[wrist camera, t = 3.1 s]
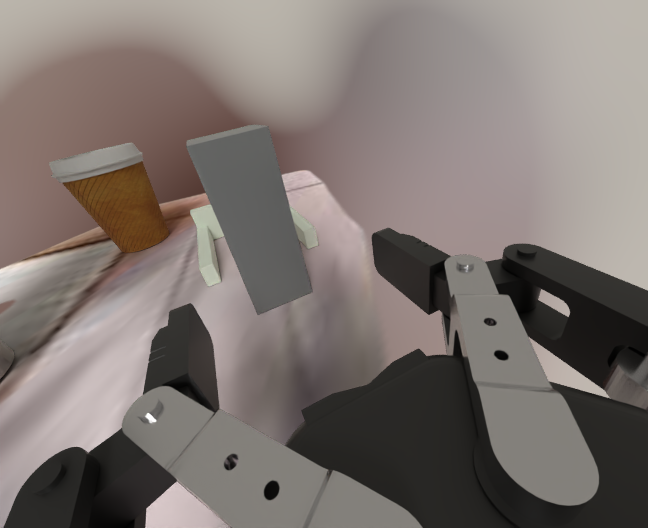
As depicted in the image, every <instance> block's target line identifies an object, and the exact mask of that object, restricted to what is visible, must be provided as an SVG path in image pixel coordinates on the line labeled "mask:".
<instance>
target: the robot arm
mask: <svg viewBox="0 0 648 528" xmlns="http://www.w3.org/2000/svg"><path fill="white" fill-rule="evenodd" d="M372 246H373V255H374V263H375V267H376V269H377V271H378V273H379V274H380V275H381V276H382V277H384V278H385V279H386V280H387V281H388V282H390V283H391V284H392V285H393V286H395V287H396V288H397V289H398V290H399V291H400V292H402V293H403V294H404V295H405V296H406V297H408V298H409V299H410V300H411V301H412V302H414V303H415V304H416V305H417V306H419V307H420V308H421V309H422V310H423V311H425V312H426V313H427V314H428V315H430V314H432V313H434V312H436V311H438V310H440V311H441V312H442V324H443V331H444V338H445V345H446V352H447V355H432V356H426V355H425V354H424V353H423V352H422V351H421V350H420V349H417V350H415V351H413V352H411V353H409V354H407V355H405V356H403V357H402V358H400V359H398V360H396V361H394V362H392V363H391V364H390V365H389V366H388V367H387V368H386V369H385V370H384V371H383V372H381V373H380V374H379V375H378V376H377V377H376V378H375V379H374V380H373V381H372V382H371V383H369V384H368V385H365V386H361V387H357V388H354V389H350V390H346V391H342V392H338V393H334V394H331V395H329V396H328V397H326V398H324V399H322V400H320V401H318V402H316V403H314V404H312V405H311V406H309V407H307V408H305V409H303V410H301V411H302V414H303V416H304V419H305V422H304V423H302V424H301V425H300V426H299V427H298V428H297V430H296V431H295V432H294V433H293V434H292V436H291V437H290V438H289V440H288V441H287V443H286V445H285V446H284V445H282V444H281V443H279V442H277V441H275V440H274V439H272V438H270V437H269V436H267V435H265V434H263V433H262V432H260V431H258V430H256V429H255V428H253V427H251V426H249V425H248V424H246V423H244V422H242V421H241V420H239V419H237V418H236V417H234V416H232V415H230V414H229V413H227V412H225V411H223V410H221V409H219V400H218V390H217V379H216V369H215V359H214V349H213V343H212V340H211V337H210V334H209V332H208V330H207V329H206V327H205V325H204V323H203V322H202V320H201V318H200V316H199V315H198V313H197V311H196V310H195V308H194V306H193V305H192V304H191V303H189V304H187V305H184V306H182V307H179V308H176V309H174V310H171V311H170V312H169V320H168V326H166V327H164V328H161V329H159V331H158V333H157V334H156V336H155V337H154V339H153V340H152V345H151V351H150V352H151V354H150V356H149V363H148V368H147V374H146V380H145V386H144V392H143V395H142V396H141V397H140V398H139V399H137V400H136V401H135V402H134V403H133V405H132V406H131V407H130V408H129V410H128V411H127V413H126V415H125V416H124V419H123V422H122V428H121V429H120V430H119V431H117V432H116V433H115V434H113V435H112V436H111V437H109V438H108V439H107V440H105V441H104V442H102V443H101V444H100V445H98V446H97V447H96V448H94V449H93V450H91V451H90V452H89V453H88V452H87V451H85V450H84V449H83V448H80V447H71V448H68V449H65V450H63V451H61V452H59V453H57V454H55V455H54V456H52V457H51V458H49V459H48V460H47V461H46V462H44V463H43V464H42V465H41V466H40V467H39V468H38V469H37V470H36V471H35V472H34V473H33V474H32V475H31V476H30V477H29V478H28V479H27V481H26V482H25V483H24V485H23V486H22V488H21V489H20V491H19V493H18V495H17V497H16V499H15V501H14V504H13V506H12V508H11V511H10V513H9V516H8V518H7V521H6V523H5V526H4V528H145V523H146V508H147V507H148V506H150V505H151V504H152V503H153V502H154V501H155V500H156V499H157V498H158V497H160V496H161V495H162V494H163V493H164V492H165V491H166V490H167V489H169V488H170V487H171V486H172V485H173V484H174V483H175V482H176V481H177V482H178V483H180V484H181V485H182V486H183V487H184V488H185V489H187V490H188V491H189V492H190V493H191V494H192V495H193V496H195V497H196V498H197V499H198V500H199V501H200V502H201V503H203V504H204V505H205V506H206V507H207V508H208V509H209V510H211V511H212V512H213V513H214V514H215V515H216V516H217V517H219V518H220V519H221V520H222V521H223V522H224V523H225V524H227V525H228V526H229V527H230V528H648V291H647V290H645V289H642V288H640V287H638V286H635V285H632V284H630V283H628V282H625V281H623V280H620V279H618V278H615V277H613V276H610V275H608V274H605V273H603V272H601V271H598V270H596V269H593V268H591V267H588V266H586V265H584V264H581V263H579V262H576V261H573V260H571V259H569V258H566V257H564V256H561V255H559V254H557V253H554V252H552V251H549V250H546V249H544V248H542V247H539V246H536V245H531V244H514V245H510V246H508V247H506V248H505V249H504V252H503V257H502V259H499V260H493V261H488V262H485V261H483V260H482V259H480V258H478V257H476V256H472V255H455V256H452V257H451V256H449V255H448V254H446V253H444V252H442V251H440V250H438V249H436V248H434V247H432V246H431V245H428V244H427V243H425V242H422V241H421V240H419V239H417V238H415V237H414V236H410V235H405V234H399V233H398V232H396V231H394V230H392V229H390V228H386V229H384V230H381V231H378V232H376V233H374V234H373V235H372ZM541 289H543V290H545V291H547V292H548V293H550V294H552V295H554V296H556V297H558V298H560V299H561V300H563V301H564V302H565V303H566V304H567V305H568V307H569V309H570V315H569V317H567V316H565V315H563V314H562V313H560V312H558V311H556V310H555V309H553V308H551V307H549V306H548V305H546V304H544V303H542V302H541V301H539V300H538V298H539V294H540V291H541ZM528 337H530V338H531V339H533V340H534V341H536V342H537V343H538V344H540V345H541V346H543V347H544V348H545V349H547V350H548V351H550V352H551V353H553V354H554V355H555V356H557V357H558V358H560V359H561V360H562V361H564V362H566V363H567V364H568V365H569V366H571V367H572V368H574V369H575V370H577V371H578V372H579V373H581V374H582V375H584V376H585V377H586V378H588V379H590V380H591V381H592V382H594V383H595V384H596V385H598V386H600V387H601V388H602V389H603V390H605V391H606V393H607V394H608V396H609V397H610V398H611V399H610V398H606V397H603V396H599V395H596V394H592V393H588V392H585V391H581V390H578V389H574V388H571V387H567V386H564V385H560V384H556V383H553V382H549V381H548V379H547V377H546V375H545V373H544V370H543V368H542V366H541V364H540V362H539V359H538V357H537V355H536V353H535V351H534V349H533V347H532V344H531V342H530V340H529V338H528ZM14 357H15V356H14V351H13V350H12V349H11V348H10V347H8V346H7V345H6V344H5V343H4V342H3V341H1V340H0V379H1V377H2V376H3V375H4V374H5V373H6V372H7V370H8V369H9V367H10V366H11V364H12V362H13V359H14Z"/></svg>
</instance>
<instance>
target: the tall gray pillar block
mask: <svg viewBox="0 0 648 528" xmlns="http://www.w3.org/2000/svg"><path fill="white" fill-rule="evenodd" d="M186 147H187V149H188V152H189V154H190V156H191V159H192V161H193V163H194V166H195V168H196V170H197V173H198V175H199V178H200V180H201V182H202V185H203V187H204V189H205V192H206V194H207V196H208V199H209V201H210V204H211V206H212V208H213V211H214V213H215V215H216V218H217V220H218V222H219V225H220V227H221V229H222V232H223V234H224V236H225V239H226V241H227V244H228V246H229V248H230V251H231V253H232V255H233V258H234V260H235V262H236V265H237V267H238V269H239V272H240V274H241V277H242V279H243V281H244V284H245V286H246V288H247V291H248V293H249V295H250V298H251V300H252V302H253V305H254V307H255V310H256V312H257V314H258V315H259V314H261V313H264V312H266V311H268V310H271V309H273V308H276V307H278V306H280V305H283V304H285V303H287V302H290V301H292V300H295V299H297V298H299V297H302V296H304V295H306V294H309V293H311V292H312V288H311V285H310V281H309V277H308V273H307V270H306V266H305V262H304V258H303V255H302V251H301V247H300V243H299V240H298V236H297V232H296V229H295V225H294V221H293V217H292V214H291V210H290V206H289V202H288V199H287V195H286V191H285V187H284V184H283V180H282V176H281V172H280V169H279V165H278V161H277V157H276V154H275V150H274V147H273V143H272V139H271V135H270V131H269V128H268V126H262V125H250V126H246V127H242V128H238V129H233V130H229V131H225V132H221V133H217V134H213V135H209V136H205V137H200V138H197V139H192V140H188V141H187V145H186Z"/></svg>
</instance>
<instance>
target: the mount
mask: <svg viewBox="0 0 648 528" xmlns="http://www.w3.org/2000/svg"><path fill="white" fill-rule="evenodd" d="M289 206H290V205H289ZM290 210H291V214H292V217H293V221H294V225H295V229H296V232H297V236H298V239H299V240H300V241H301V242H302V243H303V244H304V245H305V246H306V248H307V249H310V248H313V247H315V246H318V245H319V244H318V240H317V235H316V231H315V227H314V226H312V225H311V224H310V223H309V222H308V221H307V220H306V219H305V218H303V217H302V216H301V215H300V214H299V213H298V212H297V211H295V210H294V209H293V208H292V207H291V206H290ZM190 214H191V216H192V218H193V220H194V222H195V224H196V226H197V242H198V259H199V270H200V272H201V274H202V276H203V278H204V279H205V281H206V283H207V285H208V287H209V286H212V285H214V284H217V283H220V282H221V278H220V273H219V267H218V262H217V257H216V252H215V246H214V241H213V240H215V239H218V238H221V237H224V234H223V232H222V229H221V227H220V225H219V222H218V220H217V218H216V215H215V213H214V211H213V208H212V206H211V204H209V205H206V206H203V207H199V208H196V209H193V210H190Z"/></svg>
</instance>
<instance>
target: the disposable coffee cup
mask: <svg viewBox="0 0 648 528" xmlns="http://www.w3.org/2000/svg"><path fill="white" fill-rule="evenodd" d="M142 154H143V153H142V152H139V151H138V149H137V148H136V147H135V146H134V144H133V143H127V144H123V145H118V146H113V147H109V148H105V149H100V150H96V151H92V152H88V153H83V154H80V155H76V156H72V157H68V158H64V159H60V160H56V161H53V162H50V163H49V165H50V167H51V170H52V172H53V175H52V177H53V178H56V179H57V180H58V181H59V182H60V183H63V184H64V186H65V187H66V188H67V189H68V190H69V191H70V192H71V194H72V195H73V196H74V197H75V198H76V199H77V200H78V201H79V203H80V204H81V205H82V206H83V207H84V208H85V210H86V211H87V212H88V213H89V214H90V215H91V216H92V218H93V219H94V220H95V221H96V222H97V223H98V225H99V226H100V227H101V228H102V229H103V230H104V231H105V232H106V234H107V235H108V236H109V237H110V238H111V239H112V240H113V242H114V243H115V244H116V245H117V246H118V247H119V248H120V250H121V251H122V252H124V253H130V252H136V251H140V250H143V249H147V248H149V247H151V246H154V245H156V244H158V243H160V242H161V241H163V240H164V239H165V238H167V237H168V235H169V231H168V228H167V225H166V223H165V220H164V218H163V215H162V212H161V210H160V207H159V204H158V202H157V199H156V197H155V194H154V191H153V188H152V186H151V183H150V181H149V178H148V175H147V172H146V170H145V167H144V165H143V162H142V160H143V158H142Z"/></svg>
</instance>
